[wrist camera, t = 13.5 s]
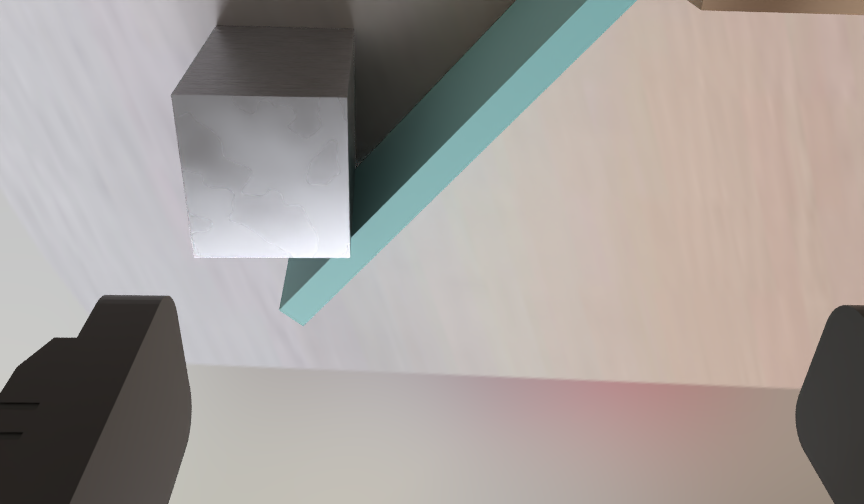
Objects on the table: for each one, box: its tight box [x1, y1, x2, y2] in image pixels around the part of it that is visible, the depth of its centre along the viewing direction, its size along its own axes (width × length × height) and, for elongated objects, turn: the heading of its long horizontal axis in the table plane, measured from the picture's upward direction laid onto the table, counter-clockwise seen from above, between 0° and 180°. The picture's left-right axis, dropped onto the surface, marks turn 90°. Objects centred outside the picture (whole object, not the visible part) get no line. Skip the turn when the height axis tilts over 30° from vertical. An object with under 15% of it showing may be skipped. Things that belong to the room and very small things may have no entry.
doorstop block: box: [171, 26, 356, 258], centre depth 30 cm, size 6×6×8 cm
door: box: [279, 0, 637, 326], centre depth 31 cm, size 18×1×6 cm, turn 137°
